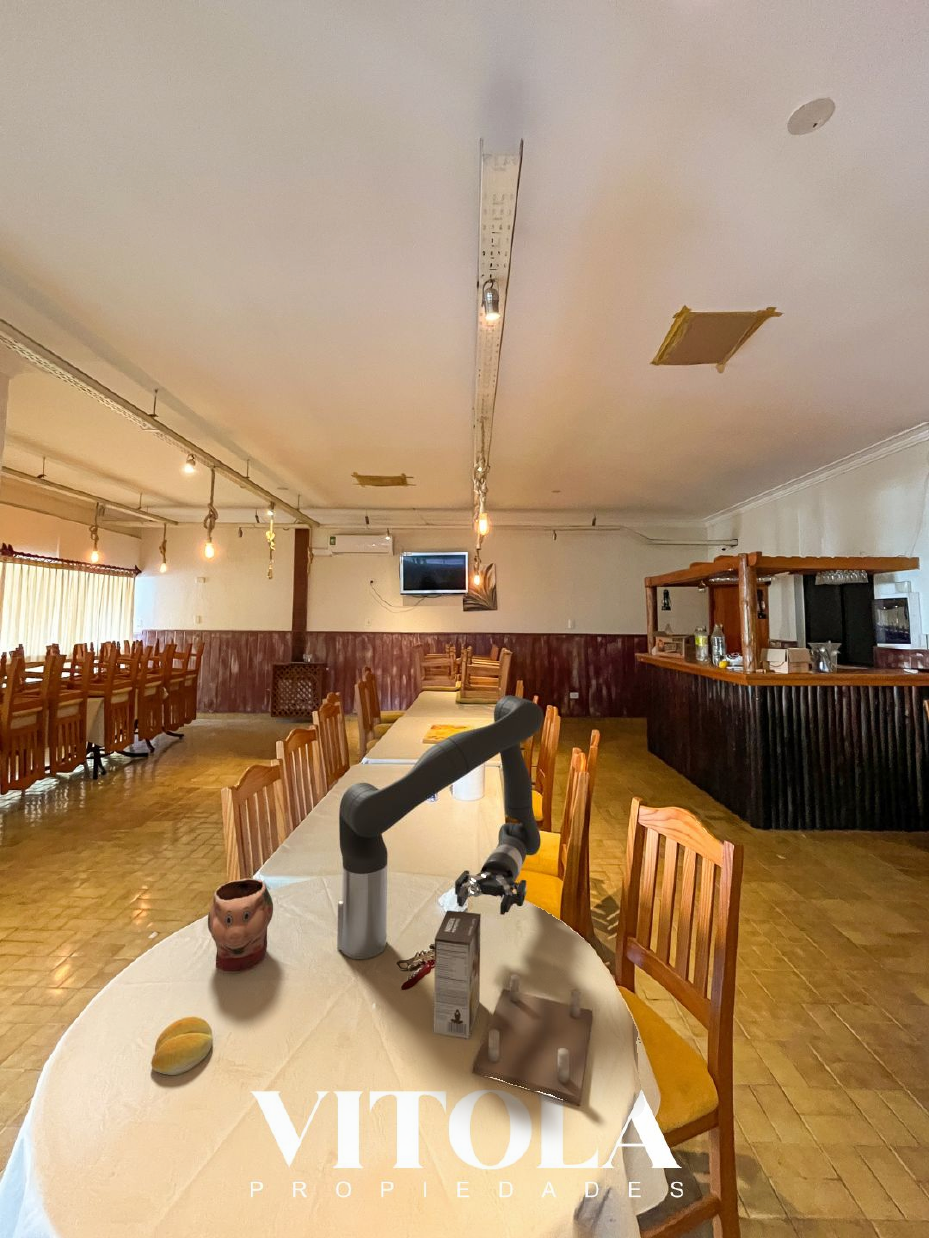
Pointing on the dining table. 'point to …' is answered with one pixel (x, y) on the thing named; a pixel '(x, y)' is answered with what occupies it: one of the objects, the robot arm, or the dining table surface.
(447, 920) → the coffee box
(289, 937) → the dining table surface
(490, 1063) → the standoff plate
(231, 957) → the decorative planter
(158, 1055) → the bread roll
